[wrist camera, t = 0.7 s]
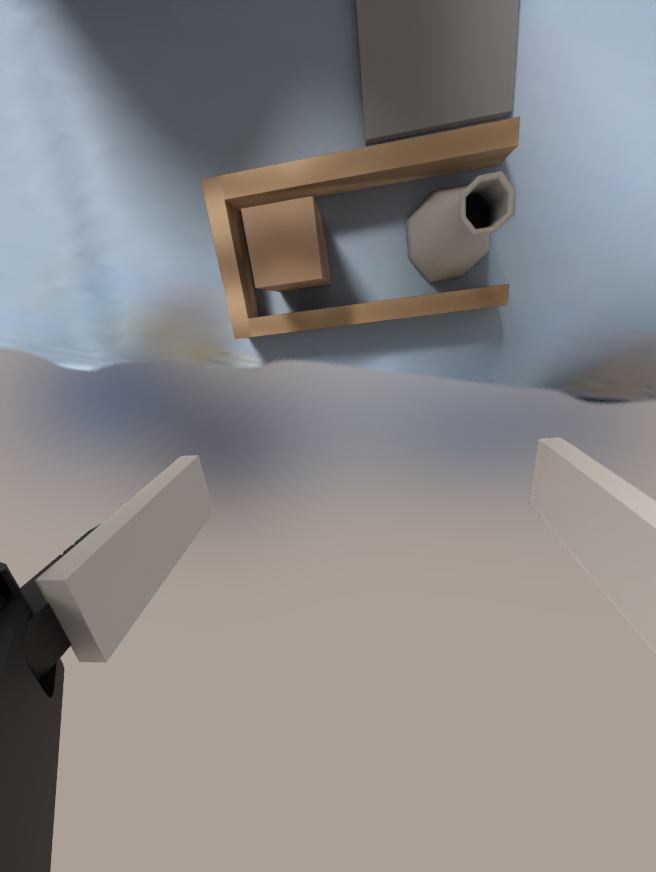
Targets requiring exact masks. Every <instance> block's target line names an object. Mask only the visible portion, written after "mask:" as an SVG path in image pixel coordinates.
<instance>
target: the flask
mask: <svg viewBox="0 0 656 872" xmlns="http://www.w3.org/2000/svg"><path fill="white" fill-rule="evenodd" d="M514 194H515V189H514V187H513V186H512V184H511V183H510V182H509V180H508V179H507V178H506V176H505V175H504V173H503V172H502V171H498V172H493V173H488V174H484V175H479V176H477V177H476V179H475V180H474V181H473V182H472V183H471V184H470V185H469V184H468V185H463V186H458V187H453V188H448V189H443V190H439V191H434V192H432V193H431V194H430V195H429V196H428V198H427V199H426V200H425V201H424V202H423V203H422V204H421V205H420V206H419V207H418V208H417V210H416V211H415V212H414V213H413V214H412V215H411V216H410V217H409V218H408V219H407V220H406V225H407V243H408V258H409V259H410V260H411V262H412V263H413V264H414V265H415V266H416V267H417V269H418V270H419V271H420V272H421V273H422V275H423V276H424V277H425V278H426V279H427V280H428V282H434V281H440V280H447V279H453V278H459V277H462V276H463V275H464V274H466V273H467V272H468V271H469V270H470V269H471V268H472V267H473V266H474V265H475V264H476V263H477V262H478V261H479V260H480V259H481V258H482V257H483V256H484V255H485V254H486V253H487V252H489V248H490V233H494V232H496V231H497V230H498V229H499V228H500V227H501V226H502V225H503V224H504V223H505V222H506V221H507V220H508V219H509V218H510V217H511V216H512V215H513V214H514Z"/></svg>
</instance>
